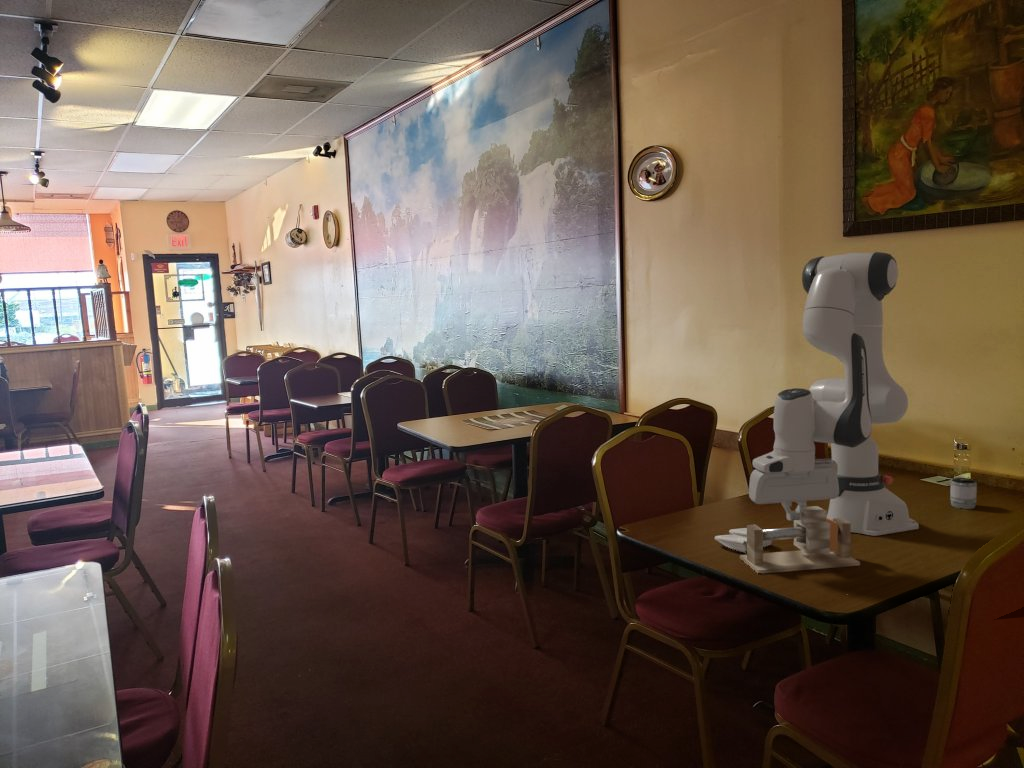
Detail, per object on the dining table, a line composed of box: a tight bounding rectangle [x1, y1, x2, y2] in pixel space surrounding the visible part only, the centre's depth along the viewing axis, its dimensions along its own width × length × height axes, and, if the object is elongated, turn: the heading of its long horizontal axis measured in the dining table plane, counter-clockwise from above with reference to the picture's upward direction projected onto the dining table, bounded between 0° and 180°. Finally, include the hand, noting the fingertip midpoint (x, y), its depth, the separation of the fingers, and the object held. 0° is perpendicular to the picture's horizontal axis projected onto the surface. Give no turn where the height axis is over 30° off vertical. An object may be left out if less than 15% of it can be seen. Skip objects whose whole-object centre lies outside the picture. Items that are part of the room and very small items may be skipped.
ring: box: [827, 518, 838, 552], centre depth 167 cm, size 2×6×6 cm, turn 6°
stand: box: [739, 518, 861, 574], centre depth 167 cm, size 24×10×9 cm, turn 96°
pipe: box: [763, 525, 841, 541], centre depth 166 cm, size 19×3×3 cm, turn 96°
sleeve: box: [793, 505, 830, 555], centre depth 167 cm, size 5×7×10 cm
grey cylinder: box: [949, 477, 978, 510], centre depth 204 cm, size 6×6×8 cm
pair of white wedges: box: [714, 527, 773, 555], centre depth 180 cm, size 12×4×11 cm
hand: (794, 519), depth 166 cm, fingers closed
